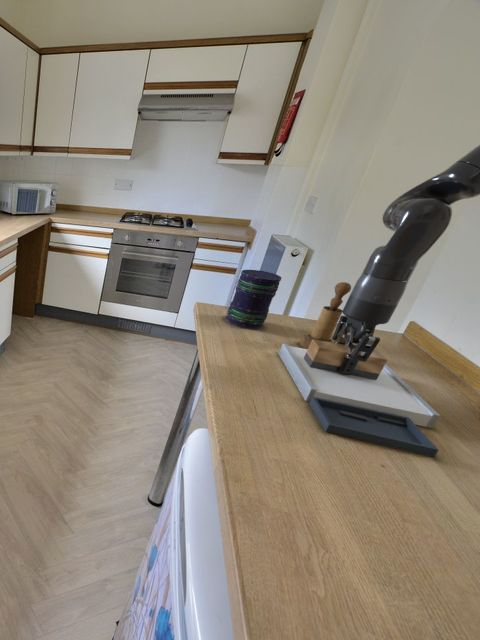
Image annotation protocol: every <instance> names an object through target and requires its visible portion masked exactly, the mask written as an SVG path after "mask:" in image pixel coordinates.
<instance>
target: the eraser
mask: <svg viewBox="0 0 480 640" xmlns="http://www.w3.org/2000/svg"><path fill="white" fill-rule="evenodd" d="M353 350H354V349H353ZM353 350H352V352H353ZM346 352H347V348H346V347H345V345H343V344H337V343H334V342H333V343H331V342H326V341H320V340H314V339H312V341H311V343H310V345H309V348H308V350H307V352H306V354H305V356H304V359H305V361H306V362H307V364H308V365H309V367H311V368H316V369H322V370H327V371H332V372H337V373H339V372H338V369H339V367H340V365H341V364H342V362H343V360H344V358H345V355H346ZM364 353H365V352H364ZM363 355H364V354H363ZM387 362H388V358H386V357H385V356H384V355H383V354H382V353H381V352H380V351H379V350H376V349H374V350H373V352H372V353H371V355H370V356H369V358H368V359H367V361H366V362H362V361H358V363H357V365H356V367H355V368H354V370H353V372H352V374H351V375H353V376H358V377H363V378H368V379H373V380H377V378H378V376H379V375H380V373H381V371H382V369H383V367H384V365H385V364H386V363H387ZM386 365H387V364H386Z"/></svg>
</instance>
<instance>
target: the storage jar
mask: <svg viewBox="0 0 480 640" xmlns="http://www.w3.org/2000/svg"><path fill="white" fill-rule="evenodd" d="M240 272H241V273H240V276H239V278H238V279H237V282H236V286H235V292H234V295H233V298H232V301H230V304H229V306H228V309H227V313H226V316H225V319H224V320H225V321H226V322H227V323H229V324H231V325H232V326H235V327H239V328H242V329H249V330H261V329H262V328H263V327H264V323H265V322H266V320H267V319H268V318H267V317H268V314H269V312H270V306H271V304H272V300H273V299H274V298H275V296H276V293H277V291H278V290H279V286H280V282H281V281H282V276H280V275H279V274H276V273H272V272H269V271H264V270H259V269H258V270H257V269H242V270H241V271H240Z"/></svg>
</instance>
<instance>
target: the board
mask: <svg viewBox="0 0 480 640" xmlns="http://www.w3.org/2000/svg"><path fill="white" fill-rule="evenodd" d="M307 350H308V349H305V348H303V347H297V346H291V345H289V344H288V343H282V345H281V346H280V349H279V351H278V355H279V357H280V359H281V360H282V362H283V364H284V366H285V367H286V369H287V371H288V373H289V375H290V376H291V378H292V379H293V381H294V384H295V385H296V387H297V389H298V390H299V392H300V394H301V396H302V397H303V399H304V400H305V401H307V402H310V401H311V399H312V397H315V398H320V399H324V400H329V401H334V402H338V403H343V404H348V405H352V406H357V407H362V408H366V409H371V410H376V411H380V412H385V413H390V414H394V415H399V416H404V417H408V418H410V419H411V421H412V422H413V423H414V424H415V425H416V426H420V427H425V428H429V429H433V428H434V426H435V424H436V423H437V422H438V421H439V419H440V417H441V415H440V414H439V413H438V412H437V411H436V410H435V409H434V408H433V407H432V406H431V405H430V404H429V403H427V402H426V400H425V399H423V398H422V397H421V396H420V395H419V394H418V393H417V392H416V391H415V390H414V389H413V388H411V386H409V384H408V383H407V382H405V381H404V380H403V379H402V378H401V377H400V376H399V375H398V374H397V373H396V372H395V371H394V370H393V369H391V367H389V365H388V364H385V365H384V367H383V369H382V371H381V373H380V375H379V376H378V378H377V380H373V379H368V378H363V377H358V376H353V375H344V374H340V373H337V372H332V371H327V370H322V369H316V368H311V367H309V365H308V364H307V362H306V361H305V359H304V356H305V354H306V352H307Z"/></svg>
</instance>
